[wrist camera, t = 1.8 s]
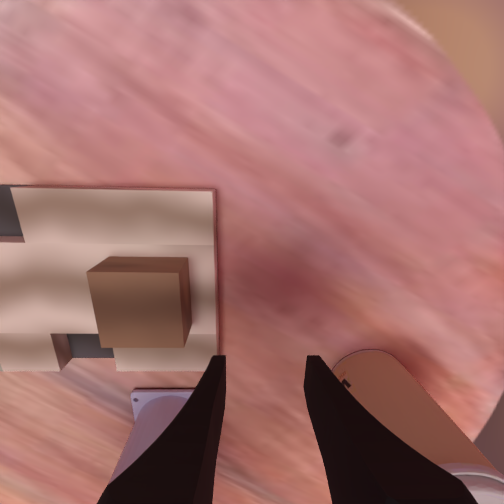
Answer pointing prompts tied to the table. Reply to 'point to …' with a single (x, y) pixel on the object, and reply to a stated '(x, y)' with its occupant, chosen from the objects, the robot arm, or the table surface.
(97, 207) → the board
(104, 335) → the walnut block
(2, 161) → the table surface
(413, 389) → the coffee cup
